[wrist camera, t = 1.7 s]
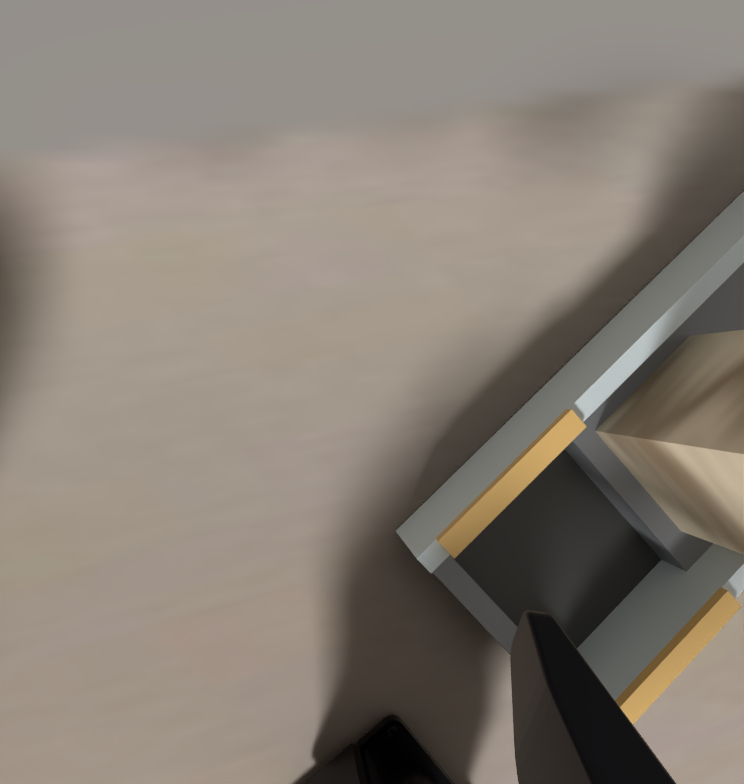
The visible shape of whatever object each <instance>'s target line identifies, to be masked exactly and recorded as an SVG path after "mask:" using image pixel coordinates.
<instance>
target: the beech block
mask: <svg viewBox="0 0 744 784" xmlns="http://www.w3.org/2000/svg"><path fill="white" fill-rule="evenodd" d="M595 432H596V433H597V434H598V435H599V437H600V438H601V439H602V440H603V441H604V442H605V443H606V445H607V446H608V447H609V448H610V449H611V450H612V452H613V453H614V454H615V455H616V456H617V457H618V459H619V460H620V461H621V462H622V463H623V464H624V466H625V467H626V468H627V469H628V470H629V471H630V472H631V474H632V475H633V476H634V477H635V478H636V479H637V481H638V482H639V483H640V484H641V485H642V486H643V488H644V489H645V490H646V491H647V492H648V493H649V495H650V496H651V497H652V498H653V499H654V500H655V502H656V503H657V504H658V505H659V506H660V507H661V508H662V510H663V511H664V512H665V513H666V514H667V515H668V517H669V518H670V519H671V520H672V521H673V522H674V524H675V525H676V526H677V527H678V528H679V529H680V531H682V532H684V533H687V534H690V535H692V536H695V537H698V538H701V539H703V540H706V541H709V542H711V543H714V544H717V545H719V546H722V547H725V548H727V549H730V550H733V551H735V552H738V553H741V554H743V555H744V330H737V331H728V332H719V333H710V334H702V335H693V336H689V337H688V338H687V339H686V340H685V341H684V342H683V343H682V344H681V345H680V346H679V347H678V348H677V349H676V350H675V351H674V352H673V353H672V354H671V355H670V356H669V357H668V358H667V359H666V360H665V361H664V362H663V363H662V364H661V365H660V366H659V367H658V368H657V369H656V370H655V371H654V372H653V373H652V374H651V375H650V376H649V377H648V378H647V379H646V380H645V381H644V382H643V383H642V384H641V385H640V386H639V387H638V388H637V389H636V390H635V391H634V392H633V393H632V394H631V395H630V396H629V397H628V398H627V399H626V400H625V401H624V402H623V403H622V404H621V405H620V406H619V407H618V408H617V409H616V410H615V411H614V412H613V413H612V414H611V415H610V416H609V417H608V418H607V419H606V420H605V421H604V422H603V423H602V424H601V425H600V426H599V427H598V428H597V429H596V430H595Z"/></svg>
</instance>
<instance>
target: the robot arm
mask: <svg viewBox="0 0 744 784" xmlns="http://www.w3.org/2000/svg"><path fill="white" fill-rule="evenodd" d="M510 660H511V682H512V704H513V725H514V745H515V759H516V767H517V775H518V782H519V784H676V783H675V781H674V780H673V779H672V777H671V776H670V775H669V773H668V772H667V771H666V769H665V768H664V766H663V765H662V764H661V762H660V761H659V760H658V758H657V757H656V756H655V754H654V753H653V752H652V750H651V749H650V747H649V746H648V745H647V743H646V742H645V741H644V739H643V738H642V737H641V735H640V734H639V733H638V731H637V730H636V728H635V727H634V726H633V724H632V723H631V722H630V720H629V719H628V718H627V716H626V715H625V713H624V712H623V711H622V709H621V708H620V707H619V705H618V704H617V703H616V701H615V700H614V699H613V697H612V696H611V694H610V693H609V692H608V690H607V689H606V688H605V686H604V685H603V684H602V682H601V681H600V680H599V678H598V677H597V675H596V674H595V673H594V671H593V670H592V669H591V667H590V666H589V665H588V663H587V662H586V661H585V659H584V658H583V656H582V655H581V654H580V652H579V651H578V650H577V648H576V647H575V646H574V644H573V643H572V641H571V640H570V639H569V637H568V636H567V635H566V633H565V632H564V631H563V629H562V628H561V627H560V625H559V624H558V622H557V621H556V620H555V618H554V617H553V616H552V615H550V614H549V613H544V612H537V611H530V610H528V611H525V612H524V613H523V615H522V617H521V619H520V622H519V625H518V628H517V630H516V633H515V636H514V639H513V642H512V646H511V655H510ZM392 726H396V727H397V729H396V730H395V731H394V732H389V731H388V729H389V728H390V727H392ZM306 784H454V783H453V782H452V781H451V779H450V778H449V777H448V776H447V774H446V773H445V772H444V771H443V770H442V768H441V767H440V766H439V765H438V763H437V762H436V761H435V760H434V759H433V757H432V756H431V755H430V754H429V753H428V751H427V750H426V749H425V748H424V746H423V745H422V744H421V743H420V742H419V740H418V739H417V738H416V737H415V736H414V734H413V733H412V732H411V731H410V729H409V728H408V727H407V726H406V725H405V723H404V722H403V721H402V720H401V719H400V718H399V717H398V716H395V715H390V716H387V717H386V718H384V719H383V720H382V721H381V722H380V723H378V724H377V725H376V726H375V727H374V728H373V729H371V730H370V731H369V732H368V733H367V734H366V735H365V736H363V737H362V738H361V739H360V740H359V741H358V742H357V743H354V744H350V745H349V746H348V747H347V748H345V749H344V750H343V751H342V752H341V753H340V754H338V755H337V756H336V757H335V758H334V759H333V760H332V761H330V762H329V763H328V764H327V765H326V766H325V767H324V768H322V769H321V770H320V771H319V772H318V773H317V774H315V775H314V776H313V777H312V778H311V779H310V780H309V781H308V782H307V783H306Z"/></svg>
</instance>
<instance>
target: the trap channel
mask: <svg viewBox="0 0 744 784" xmlns="http://www.w3.org/2000/svg"><path fill="white" fill-rule="evenodd" d="M737 330H744V191H743V192H742V193H741V194H740V195H739V196H738V197H737V198H736V199H735V200H734V201H733V202H732V203H731V204H730V205H729V206H728V207H727V208H726V209H725V210H724V211H723V212H722V213H721V214H720V215H718V216H717V217H716V218H715V219H714V220H713V221H712V222H711V223H710V224H709V225H708V226H707V227H706V228H705V229H704V230H703V231H702V232H701V233H700V234H699V235H698V236H697V237H696V238H695V239H694V240H693V241H692V242H691V243H690V244H689V245H688V246H687V247H686V248H685V249H684V250H683V251H682V252H681V253H680V254H679V255H678V256H676V257H675V258H674V259H673V260H672V261H671V262H670V263H669V264H668V265H667V266H666V267H665V268H664V269H663V270H662V271H661V272H660V273H659V274H658V275H657V276H656V277H655V278H654V279H653V280H652V281H651V282H650V283H649V284H648V285H647V286H646V287H645V288H644V289H643V290H642V291H641V292H640V293H639V294H638V295H637V296H636V297H634V298H633V299H632V300H631V301H630V302H629V303H628V304H627V305H626V306H625V307H624V308H623V309H622V310H621V311H620V312H619V313H618V314H617V315H616V316H615V317H614V318H613V319H612V320H611V321H610V322H609V323H608V324H607V325H606V326H605V327H604V328H603V329H602V330H601V331H600V332H599V333H598V334H597V335H596V336H595V337H594V338H592V339H591V340H590V341H589V342H588V343H587V344H586V345H585V346H584V347H583V348H582V349H581V350H580V351H579V352H578V353H577V354H576V355H575V356H574V357H573V358H572V359H571V360H570V361H569V362H568V363H567V364H566V365H565V366H564V367H563V368H562V369H561V370H560V371H559V372H558V373H557V374H556V375H555V376H554V377H553V378H552V379H550V380H549V381H548V382H547V383H546V384H545V385H544V386H543V387H542V388H541V389H540V390H539V391H538V392H537V393H536V394H535V395H534V396H533V397H532V398H531V399H530V400H529V401H528V402H527V403H526V404H525V405H524V406H523V407H522V408H521V409H520V410H519V411H518V412H517V413H516V414H515V415H514V416H513V417H512V418H511V419H510V420H508V421H507V422H506V423H505V424H504V425H503V426H502V427H501V428H500V429H499V430H498V431H497V432H496V433H495V434H494V435H493V436H492V437H491V438H490V439H489V440H488V441H487V442H486V443H485V444H484V445H483V446H482V447H481V448H480V449H479V450H478V451H477V452H476V453H475V454H474V455H473V456H472V457H471V458H470V459H469V460H468V461H466V462H465V463H464V464H463V465H462V466H461V467H460V468H459V469H458V470H457V471H456V472H455V473H454V474H453V475H452V476H451V477H450V478H449V479H448V480H447V481H446V482H445V483H444V484H443V485H442V486H441V487H440V488H439V489H438V490H437V491H436V492H435V493H434V494H433V495H432V496H431V497H430V498H429V499H428V500H427V501H426V502H424V503H423V504H422V505H421V506H420V507H419V508H418V509H417V510H416V511H415V512H414V513H413V514H412V515H411V516H410V517H409V518H408V519H407V520H406V521H405V522H404V523H403V524H402V525H401V526H400V527H399V528H398V529H397V530H396V532H397V534H398V535H399V536H400V538H401V539H402V540H403V541H404V543H405V544H406V545H407V547H408V548H409V549H410V551H411V552H412V553H413V555H414V556H415V557H416V558H417V560H418V561H419V562H420V563H421V564H422V565H423V566H424V567H425V568H426V569H427V570H428V571H429V572H430V573H433V574H434V575H435V576H436V577H437V578H438V579H439V580H440V581H441V582H442V583H443V584H444V585H445V586H446V587H447V588H448V590H449V591H450V592H451V593H452V594H453V595H454V596H455V597H456V598H457V599H458V600H459V601H460V602H461V603H462V604H463V605H464V606H465V608H466V609H467V610H468V611H469V612H470V613H471V614H472V615H473V616H474V617H475V618H476V619H477V620H478V621H479V622H480V623H481V624H482V626H483V627H484V628H485V629H486V630H487V631H488V632H489V633H490V634H491V635H492V636H493V637H494V638H495V639H496V640H497V641H498V642H499V644H500V645H501V646H502V647H503V648H504V649H505V650H506V651H507V652H508V653H509V654H510V655H511V646H512V642H513V639H514V636H515V633H516V630H517V628H518V625H519V622H520V619H521V617H522V615H523V613H524V612H525V611H528V610H530V611H537V612H544V613H549V614H550V615H552V616H553V617H554V618H555V620H556V621H557V622H558V624H559V625H560V627H561V628H562V629H563V631H564V632H565V633H566V635H567V636H568V637H569V639H570V640H571V641H572V643H573V644H574V646H575V647H576V648H577V650H578V651H579V652H580V654H581V655H582V656H583V658H584V659H585V661H586V662H587V663H588V665H589V666H590V667H591V669H592V670H593V671H594V673H595V674H596V675H597V677H598V678H599V680H600V681H601V682H602V684H603V685H604V686H605V688H606V689H607V690H608V692H609V693H610V694H611V696H612V697H613V699H614V700H615V701H616V703H617V704H618V705H619V707H620V708H621V709H622V711H623V712H624V713H625V715H626V716H627V718H628V719H629V720H630V722H631V723H632V724H634V723H635V722H636V721H637V720H638V718H639V717H640V716H641V715H642V714H643V713H644V712H645V711H646V710H647V709H648V708H649V706H650V705H651V704H652V703H653V702H654V701H655V700H656V699H657V698H658V697H659V696H660V695H661V693H662V692H663V691H664V690H665V689H666V688H667V687H668V686H669V685H670V684H671V683H672V681H673V680H674V679H675V678H676V677H677V676H678V675H679V674H680V673H681V672H682V671H683V670H684V668H685V667H686V666H687V665H688V664H689V663H690V662H691V661H692V660H693V659H694V658H695V656H696V655H697V654H698V653H699V652H700V651H701V650H702V649H703V648H704V647H705V646H706V645H707V643H708V642H709V641H710V640H711V639H712V638H713V637H714V636H715V635H716V634H717V633H718V631H719V630H720V629H721V628H722V627H723V626H724V625H725V624H726V623H727V622H728V621H729V620H730V618H731V617H732V616H733V615H734V614H735V613H736V612H737V611H738V610H739V609H740V608H741V605H740V604H739V603H738V601H737V600H736V598H737V597H738V596H739V595H740V594H741V593H742V591H743V590H744V555H743V554H741V553H738V552H735V551H733V550H730V549H727V548H725V547H722V546H719V545H717V544H714V543H711V542H709V541H706V540H703V539H701V538H698V537H695V536H692V535H690V534H687V533H684V532H682V531H680V529H679V528H678V527H677V526H676V525H675V524H674V522H673V521H672V520H671V519H670V518H669V517H668V515H667V514H666V513H665V512H664V511H663V510H662V508H661V507H660V506H659V505H658V504H657V503H656V502H655V500H654V499H653V498H652V497H651V496H650V495H649V493H648V492H647V491H646V490H645V489H644V488H643V486H642V485H641V484H640V483H639V482H638V481H637V479H636V478H635V477H634V476H633V475H632V474H631V472H630V471H629V470H628V469H627V468H626V467H625V466H624V464H623V463H622V462H621V461H620V460H619V459H618V457H617V456H616V455H615V454H614V453H613V452H612V450H611V449H610V448H609V447H608V446H607V445H606V443H605V442H604V441H603V440H602V439H601V438H600V437H599V435H598V434H597V433H596V432H595V430H596V429H597V428H598V427H599V426H600V425H601V424H602V423H603V422H604V421H605V420H606V419H607V418H608V417H609V416H610V415H611V414H612V413H613V412H614V411H615V410H616V409H617V408H618V407H619V406H620V405H621V404H622V403H623V402H624V401H625V400H626V399H627V398H628V397H629V396H630V395H631V394H632V393H633V392H634V391H635V390H636V389H637V388H638V387H639V386H640V385H641V384H642V383H643V382H644V381H645V380H646V379H647V378H648V377H649V376H650V375H651V374H652V373H653V372H654V371H655V370H656V369H657V368H658V367H659V366H660V365H661V364H662V363H663V362H664V361H665V360H666V359H667V358H668V357H669V356H670V355H671V354H672V353H673V352H674V351H675V350H676V349H677V348H678V347H679V346H680V345H681V344H682V343H683V342H684V341H685V340H686V339H687V338H688V337H689V336H693V335H702V334H710V333H719V332H728V331H737Z"/></svg>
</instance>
